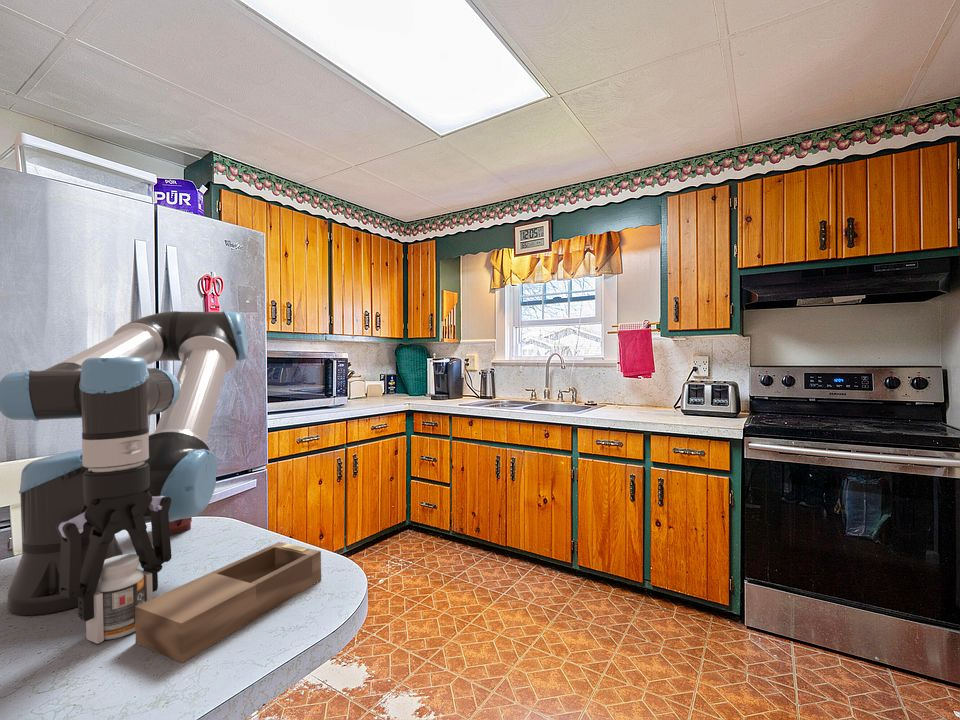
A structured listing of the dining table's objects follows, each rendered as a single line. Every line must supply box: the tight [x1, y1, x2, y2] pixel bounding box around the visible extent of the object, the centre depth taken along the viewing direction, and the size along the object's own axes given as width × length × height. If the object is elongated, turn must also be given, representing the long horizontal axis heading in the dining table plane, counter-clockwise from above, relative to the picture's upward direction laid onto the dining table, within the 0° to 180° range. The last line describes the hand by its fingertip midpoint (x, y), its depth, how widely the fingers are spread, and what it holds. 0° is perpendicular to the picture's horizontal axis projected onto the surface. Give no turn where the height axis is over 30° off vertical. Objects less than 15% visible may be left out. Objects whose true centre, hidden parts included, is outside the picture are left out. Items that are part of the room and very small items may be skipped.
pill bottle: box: [96, 553, 145, 641], centre depth 67 cm, size 6×6×10 cm
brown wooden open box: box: [134, 541, 322, 663], centre depth 73 cm, size 10×24×5 cm, turn 155°
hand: (121, 627), depth 67 cm, fingers closed on pill bottle, 6 cm apart
